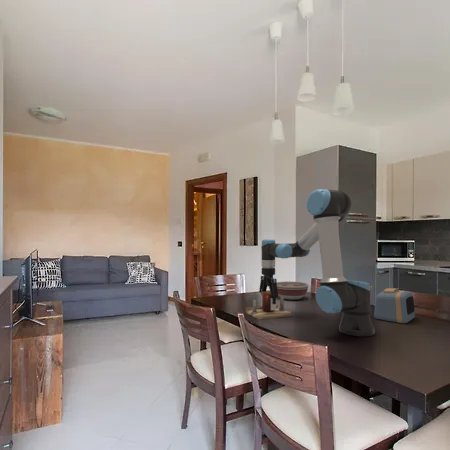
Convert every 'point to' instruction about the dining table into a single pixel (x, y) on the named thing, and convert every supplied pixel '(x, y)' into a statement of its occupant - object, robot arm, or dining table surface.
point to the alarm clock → (394, 306)
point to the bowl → (292, 290)
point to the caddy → (261, 314)
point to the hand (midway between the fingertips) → (268, 307)
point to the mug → (266, 301)
